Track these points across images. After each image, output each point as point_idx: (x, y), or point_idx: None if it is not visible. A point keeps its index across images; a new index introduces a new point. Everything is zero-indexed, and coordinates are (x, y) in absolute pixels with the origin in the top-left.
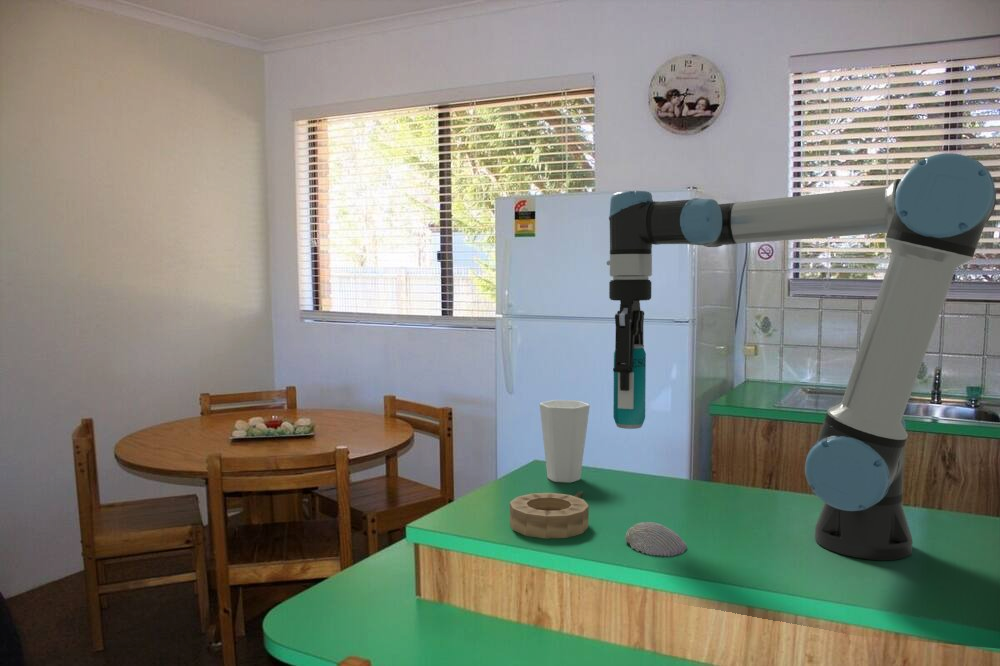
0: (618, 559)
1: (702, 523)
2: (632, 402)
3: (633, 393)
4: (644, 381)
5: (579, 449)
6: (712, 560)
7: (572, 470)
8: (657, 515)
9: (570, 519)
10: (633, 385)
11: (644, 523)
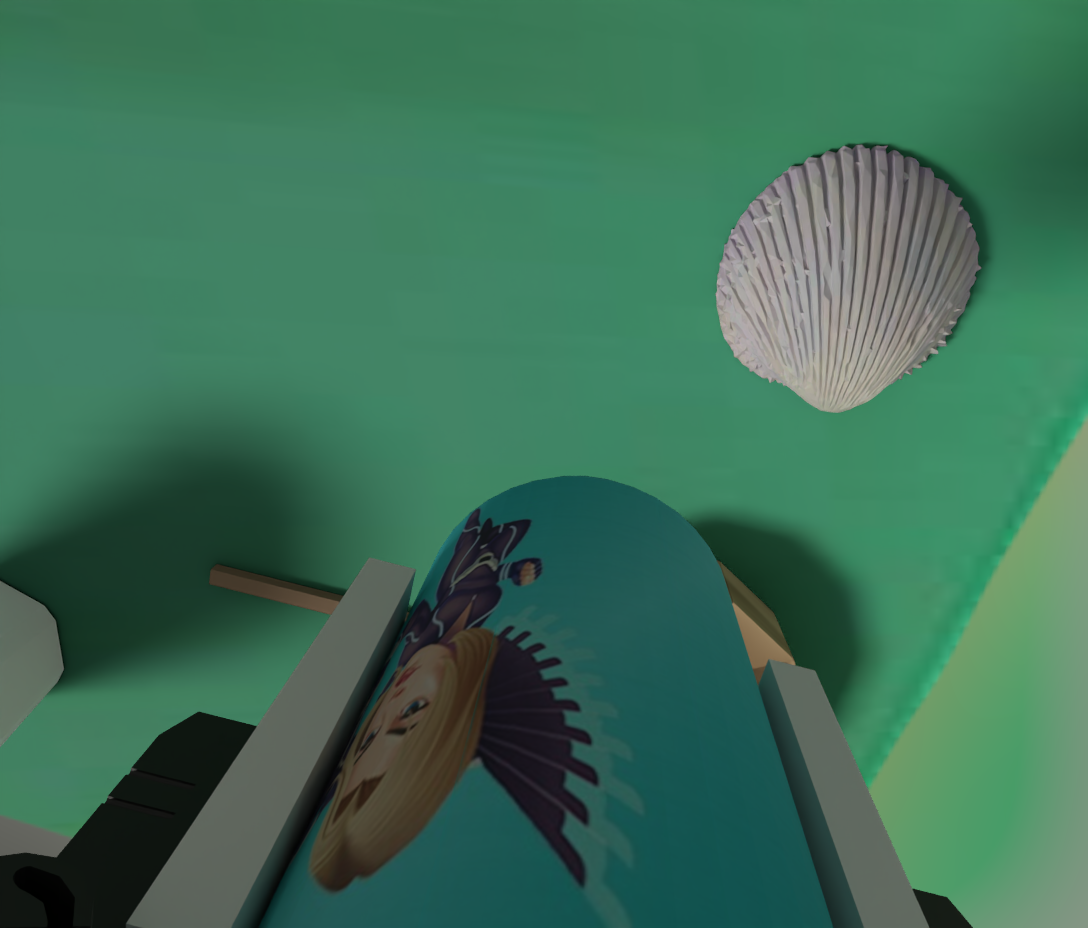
0: (1005, 435)
1: (517, 30)
2: (834, 721)
3: (825, 785)
4: (669, 742)
5: None
6: (1025, 39)
7: (11, 633)
8: (435, 248)
9: (779, 638)
10: (871, 884)
11: (860, 344)
